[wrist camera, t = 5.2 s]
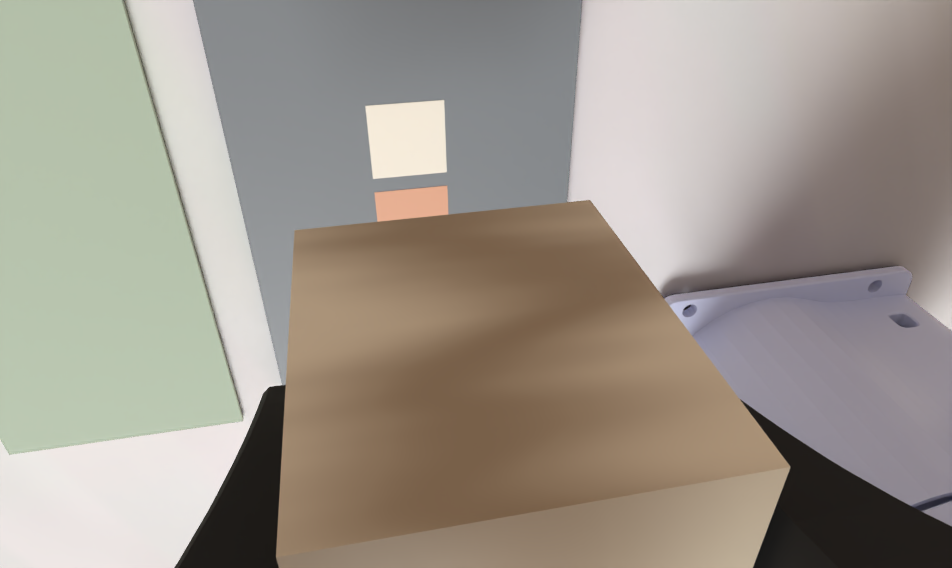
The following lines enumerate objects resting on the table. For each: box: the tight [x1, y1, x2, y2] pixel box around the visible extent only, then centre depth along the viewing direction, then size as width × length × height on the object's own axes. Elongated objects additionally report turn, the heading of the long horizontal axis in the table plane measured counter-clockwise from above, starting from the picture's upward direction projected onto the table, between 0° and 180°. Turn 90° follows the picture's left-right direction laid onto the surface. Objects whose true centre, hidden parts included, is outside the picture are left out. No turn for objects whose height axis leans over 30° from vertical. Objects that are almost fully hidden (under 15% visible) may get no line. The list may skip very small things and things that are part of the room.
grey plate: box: [193, 0, 582, 385], centre depth 18 cm, size 9×20×1 cm, turn 0°
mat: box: [0, 0, 243, 455], centre depth 17 cm, size 7×16×1 cm, turn 0°
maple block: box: [276, 200, 790, 568], centre depth 10 cm, size 5×5×6 cm
